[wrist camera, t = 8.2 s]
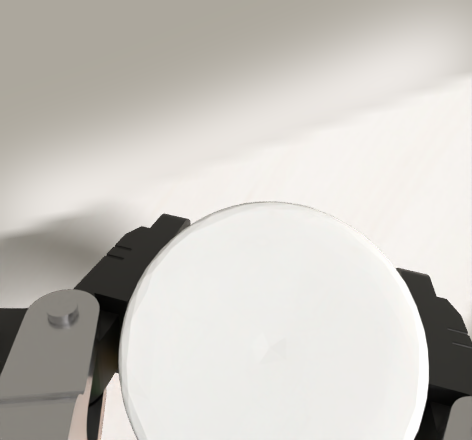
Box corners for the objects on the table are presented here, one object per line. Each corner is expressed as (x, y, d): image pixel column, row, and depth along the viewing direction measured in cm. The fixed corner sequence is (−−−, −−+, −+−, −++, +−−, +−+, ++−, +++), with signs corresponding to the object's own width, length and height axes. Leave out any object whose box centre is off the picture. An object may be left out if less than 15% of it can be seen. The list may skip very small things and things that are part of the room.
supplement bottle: (252, 235, 16) (232, 79, 6) (369, 320, 14) (594, 304, 5) (165, 347, 15) (-34, 387, 5) (283, 449, 13) (332, 779, 4)
